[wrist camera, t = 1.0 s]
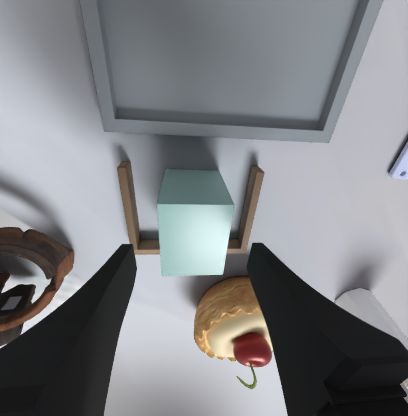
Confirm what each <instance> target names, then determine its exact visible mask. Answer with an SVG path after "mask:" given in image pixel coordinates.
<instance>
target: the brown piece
mask: <svg viewBox="0 0 408 416" xmlns="http://www.w3.org/2000/svg"><path fill="white" fill-rule="evenodd" d="M0 254H11V255H16V256H20V257H23V258H26V259H28V260H30V261H32V262H34V263H35V264H37V265H38V266H39V267H40V268H41V269H42V270H43V272H44V274H45V276H46V278H47V279H51V278H52V279H51V282H50V284H49V285H48V286H47V287H46V288H45V290H44V292H43V293H42V295H41V296H40V297H39V299H38V300H36V301H35V302H34V303H33V304H32V302H31V300H32V297H33V295H34V294H35V288H36V286H35V285H33V284H30V285H24V284H19V285H17V286H15V287H14V288H12V289H10V290H8V291H6V292H4V293H1V292H2V289H3V288H4V286H5V283H6V281H7V280H8V279H9V277H10V274H4V273H0V346H2V345H5V344H8V343H10V342H11V341H13V340H14V339H16V338H17V337H19V336H20V334H21V331H22V328H23V324H24V322H26V321H27V320H29V319H31V318H33V317H34V316H36V315H37V314H39V313H40V312H41V311H42V310H43V309H44V308H45V307H46V306H47V305H48V304H49V303H50V302H51V300H52V299H53V297H54V295H55V293H56V292H57V291H58V289H59V288H60V286H61V284H62V282H63V280H64V277H65V276H66V275H67V274H68V273H69V272H70V271H71V270H72V268H73V264H74V252H73V251H69V249H68V248H67V247H65V246H64V245H63V244H61V243H60V242H58V241H56V240H54V239H53V238H51V237H49V236H47V235H45V234H42V233H40V232H38V231H36V230H33V229H29V230H27V231H25V232H23V231H22V230H21V229H20V228H18V227H4V228H0Z"/></svg>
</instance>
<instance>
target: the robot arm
mask: <svg viewBox="0 0 408 416" xmlns="http://www.w3.org/2000/svg"><path fill="white" fill-rule="evenodd" d="M389 176H390V177H392V178H395V179H408V142H407V143H406V145H405V147H404V149H403V150H402V152H401V154H400V155H399V157H398V159H397V161H396V162H395V164H394V166H393V168H392V169H391V171H390V173H389ZM247 270H248V274H249V278H250V282H251V285H252V287H253V290H254V293H255V295H256V298H257V301H258V303H259V306H260V309H261V311H262V314H263V317H264V319H265V322H266V325H267V329H268V333H269V336H270V340H271V344H272V348H273V351H274V355H275V359H276V363H277V368H278V372H279V376H280V381H281V385H282V390H283V395H284V399H285V404H286V409H287V414H288V416H408V403H407V402H406V400H405V399H404V398H403V397H406V396H407V394H406V392H405V391H404V389H403V388H402V387H401V385H400V384H401V383H402V382H403V381H405V380H406V379H408V350H407V349H406V347H405V346H404V345H403V344H402V343H401V342H400V340H399V339H397V338H395V337H393V336H391V335H389V334H387V333H386V332H384V331H382V330H380V329H378V328H376V327H374V326H372V325H370V324H368V323H366V322H365V321H363V320H361V319H359V318H358V317H356V316H354V315H352V314H351V313H349V312H348V311H346V310H344V309H343V308H341V307H339V306H338V305H336V304H335V303H333V302H332V301H330V300H329V299H327V298H326V297H324V296H323V295H321V294H320V293H319V292H317V291H316V290H315V289H313V288H312V287H311V286H309V285H308V284H307V283H306V282H304V281H303V280H302V279H301V278H299V277H298V276H297V275H296V274H295V273H294V272H292V271H291V270H290V269H289V268H288V267H287V266H286V265H285V264H284V263H283V262H281V261H280V260H279V259H278V258H277V257H276V256H275V255H274V254H273V253H272V252H271V251H270V250H269V249H268V248H267V247H266V246H265V245H264V244H263V243H252V247H251V251H250V255H249V259H248V263H247ZM136 271H137V266H136V260H135V254H134V247H133V244H122V245H121V246H120V247H119V248H118V249H117V250H116V251H115V253H114V254H113V255H112V256H111V257H110V258H109V259H108V261H107V262H106V263H105V264H104V265H103V266H102V267H101V268H100V269H99V270H98V271H97V272H96V273H95V274H94V275H93V276H92V277H91V278H90V279H89V280H88V281H87V282H86V283H85V284H84V285H83V286H82V287H81V288H80V289H79V290H78V291H77V292H76V293H75V294H73V295H72V296H71V297H70V298H69V299H68V300H67V301H65V302H64V303H63V304H62V305H61V306H59V307H58V308H57V309H56V310H54V311H53V312H52V313H50V314H49V315H48V316H46V317H45V318H44V319H43V320H41V321H40V322H39V323H37V324H36V325H34V326H33V327H32V328H30V329H29V330H27V331H26V332H24V333H23V334H22V335H20V336H19V337H17V338H16V339H14V340H13V341H11V342H10V343H8V344H7V345H5V346H4V347H2V348H0V416H104V410H105V403H106V398H107V393H108V387H109V382H110V376H111V371H112V366H113V361H114V356H115V351H116V347H117V341H118V337H119V333H120V329H121V326H122V322H123V319H124V316H125V313H126V309H127V306H128V303H129V300H130V297H131V293H132V290H133V287H134V282H135V277H136Z"/></svg>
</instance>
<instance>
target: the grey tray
mask: <svg viewBox="0 0 408 416" xmlns="http://www.w3.org/2000/svg"><path fill="white" fill-rule="evenodd" d="M382 2H383V0H80V6H81V11H82V16H83V22H84V27H85V32H86V38H87V43H88V48H89V54H90V59H91V64H92V70H93V75H94V81H95V86H96V91H97V97H98V102H99V107H100V113H101V118H102V123H103V129H104V132H123V133H143V134H162V135H182V136H201V137H221V138H241V139H260V140H280V141H299V142H319V143H329V142H330V139H331V137H332V134H333V131H334V129H335V126H336V123H337V121H338V118H339V116H340V113H341V110H342V108H343V105H344V102H345V100H346V97H347V95H348V92H349V89H350V87H351V84H352V81H353V79H354V76H355V73H356V71H357V68H358V66H359V63H360V60H361V58H362V55H363V52H364V50H365V47H366V45H367V42H368V39H369V37H370V34H371V31H372V29H373V26H374V23H375V21H376V18H377V16H378V13H379V10H380V8H381V5H382Z"/></svg>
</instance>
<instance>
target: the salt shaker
mask: <svg viewBox="0 0 408 416" xmlns="http://www.w3.org/2000/svg"><path fill="white" fill-rule="evenodd" d="M335 304H336V305H338V306H339V307H341V308H343V309H344V310H346V311H348V312H349V313H351V314H352V315H354V316H356V317H358V318H359V319H361V320H363V321H365V322H366V323H368V324H370V325H372V326H374V327H376V328H378V329H380V330H382V331H384V332H386V333H387V334H389V335H391V336H393V337H395V338H397V339H399V340H400V342H401V343H402V344H403V345H404V346H405V347H406V349H407V350H408V338H407V337H406V336H405V335H404V333H403V332H402V331H401V329H400V328H399V327H398V326H397V324H396V323H395V322H394V320H393V319H392V318H391V317H390V315H389V314H388V313H387V311H386V310H385V309H384V308H383V306H382V305H381V304H380V302H379V301H378V300H377V299H376V297H375V296H374V295H373V293H372V292H371V291H369V290H365V289H362V288H357V289H354V290H350V291H347V292H345V293H343V294H342V295H341V296H340V297H339V298H337V299H336V300H335ZM403 383H404V384H405V386H406V387H407V389H408V379H406V380H405V381H403Z"/></svg>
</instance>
